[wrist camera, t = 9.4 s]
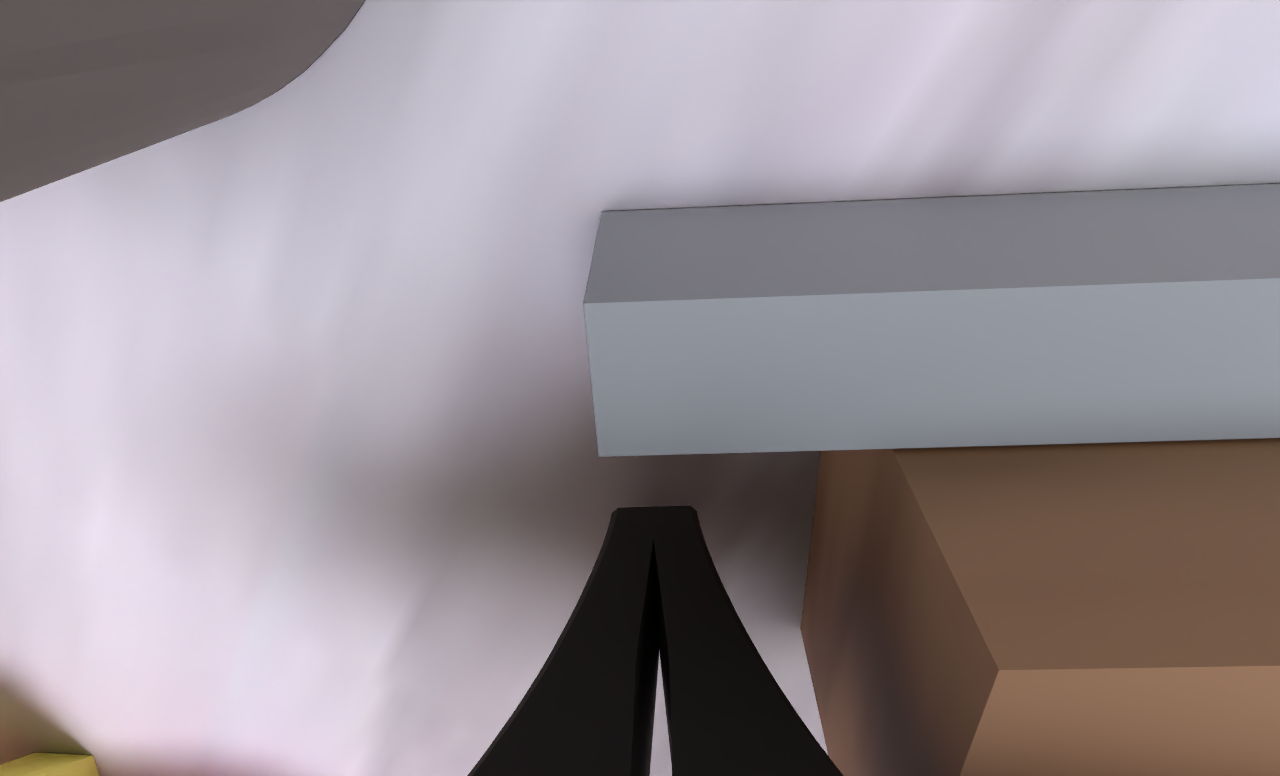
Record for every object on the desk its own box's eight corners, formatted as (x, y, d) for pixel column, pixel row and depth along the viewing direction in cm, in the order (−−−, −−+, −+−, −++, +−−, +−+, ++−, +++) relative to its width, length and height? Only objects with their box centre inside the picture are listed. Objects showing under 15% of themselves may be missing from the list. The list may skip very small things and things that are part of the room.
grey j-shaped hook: (1583, 701, 15) (1770, 851, 13) (640, 714, 16) (638, 858, 13) (2226, 144, 9) (2868, 220, 6) (601, 211, 10) (582, 303, 7)
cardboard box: (1042, 620, 14) (1319, 1094, 8) (799, 624, 14) (902, 1092, 8) (1164, 318, 10) (1828, 792, 5) (834, 329, 11) (1060, 796, 5)
